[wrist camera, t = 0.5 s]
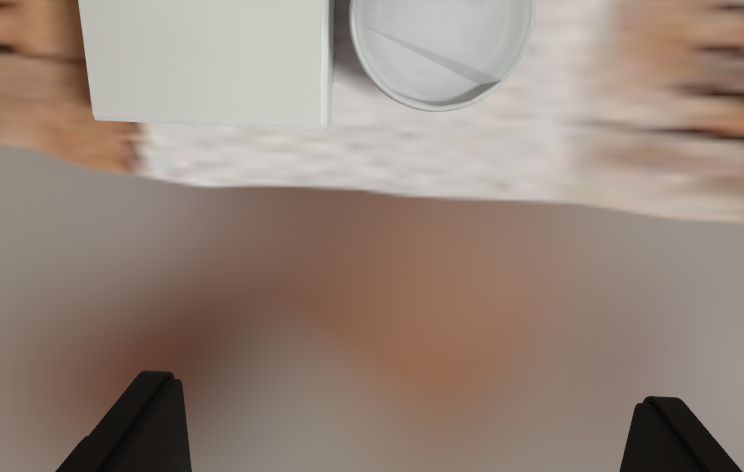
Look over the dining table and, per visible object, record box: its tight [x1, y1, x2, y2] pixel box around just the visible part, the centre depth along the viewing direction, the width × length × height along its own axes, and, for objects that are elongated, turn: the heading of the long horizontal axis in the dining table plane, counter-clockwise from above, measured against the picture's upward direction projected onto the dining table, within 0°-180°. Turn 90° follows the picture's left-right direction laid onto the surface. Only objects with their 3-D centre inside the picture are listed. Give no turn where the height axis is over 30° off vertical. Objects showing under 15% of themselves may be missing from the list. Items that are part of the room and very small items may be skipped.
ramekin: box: [349, 0, 537, 112], centre depth 33 cm, size 11×11×5 cm
